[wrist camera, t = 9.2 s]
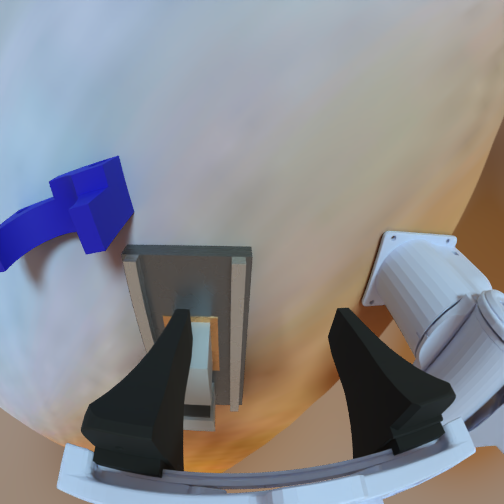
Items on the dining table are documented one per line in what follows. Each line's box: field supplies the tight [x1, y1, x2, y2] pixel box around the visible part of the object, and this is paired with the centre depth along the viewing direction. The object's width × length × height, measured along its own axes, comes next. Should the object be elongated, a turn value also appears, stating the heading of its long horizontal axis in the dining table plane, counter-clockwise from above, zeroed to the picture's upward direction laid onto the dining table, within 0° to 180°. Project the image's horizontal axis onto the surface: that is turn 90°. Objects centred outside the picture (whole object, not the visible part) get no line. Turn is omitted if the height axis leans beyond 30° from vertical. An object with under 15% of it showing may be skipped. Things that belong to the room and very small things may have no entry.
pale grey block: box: [184, 322, 213, 405], centre depth 23 cm, size 4×6×5 cm, turn 177°
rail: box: [121, 245, 252, 411], centre depth 26 cm, size 10×22×2 cm, turn 177°
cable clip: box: [0, 156, 134, 272], centre depth 16 cm, size 12×4×6 cm, turn 98°
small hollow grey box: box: [183, 383, 215, 431], centre depth 27 cm, size 4×3×5 cm
